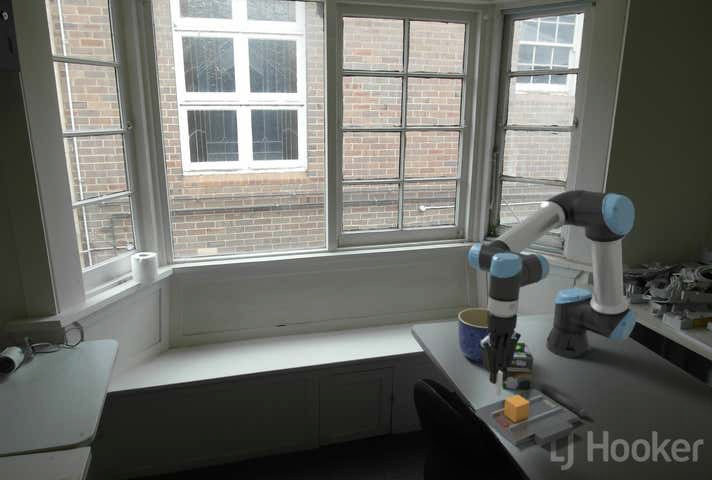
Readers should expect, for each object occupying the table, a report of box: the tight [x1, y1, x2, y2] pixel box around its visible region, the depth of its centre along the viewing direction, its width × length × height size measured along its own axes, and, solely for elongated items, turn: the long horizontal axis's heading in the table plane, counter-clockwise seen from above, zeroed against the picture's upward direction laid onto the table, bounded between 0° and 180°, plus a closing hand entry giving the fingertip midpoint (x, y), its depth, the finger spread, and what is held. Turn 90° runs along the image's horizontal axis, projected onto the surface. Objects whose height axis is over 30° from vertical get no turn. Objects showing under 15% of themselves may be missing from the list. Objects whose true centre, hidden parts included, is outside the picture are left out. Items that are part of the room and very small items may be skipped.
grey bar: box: [533, 421, 574, 447], centre depth 132 cm, size 2×12×2 cm, turn 117°
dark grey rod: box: [541, 385, 588, 418], centre depth 146 cm, size 15×2×2 cm, turn 27°
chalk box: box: [501, 342, 535, 391], centre depth 157 cm, size 9×9×15 cm
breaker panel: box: [475, 388, 579, 447], centre depth 140 cm, size 16×24×2 cm, turn 117°
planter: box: [457, 307, 491, 363], centre depth 174 cm, size 17×17×15 cm
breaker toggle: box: [504, 394, 530, 423], centre depth 138 cm, size 4×5×5 cm
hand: (495, 392), depth 132 cm, fingers closed
